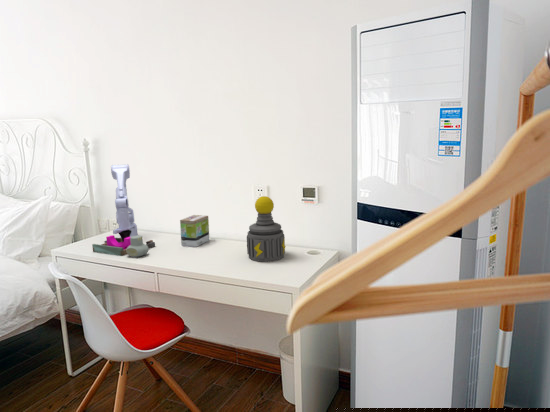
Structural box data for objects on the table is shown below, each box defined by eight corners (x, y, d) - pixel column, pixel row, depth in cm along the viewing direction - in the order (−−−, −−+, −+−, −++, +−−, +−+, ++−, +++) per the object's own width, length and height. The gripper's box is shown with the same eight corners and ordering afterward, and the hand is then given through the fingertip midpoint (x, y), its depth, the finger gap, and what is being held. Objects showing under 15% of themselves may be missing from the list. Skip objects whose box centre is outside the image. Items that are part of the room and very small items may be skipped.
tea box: (197, 247, 231) (195, 220, 228) (181, 246, 234) (179, 219, 231) (210, 240, 245) (208, 214, 242) (194, 239, 248) (192, 214, 245)
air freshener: (124, 257, 218) (122, 238, 216) (134, 252, 225) (132, 234, 224) (141, 258, 214) (139, 239, 212) (151, 254, 221) (150, 235, 220)
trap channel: (120, 240, 251) (119, 233, 250) (158, 245, 238) (158, 238, 237) (87, 250, 231) (87, 243, 230) (127, 256, 218) (127, 249, 217)
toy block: (137, 249, 232) (136, 235, 230) (129, 252, 226) (128, 238, 225) (116, 247, 238) (114, 234, 236) (107, 250, 232) (106, 236, 231)
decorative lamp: (277, 263, 199) (275, 200, 193) (240, 260, 205) (237, 199, 200) (290, 252, 216) (288, 193, 210) (256, 249, 222) (253, 192, 217)
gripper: (118, 223, 225) (121, 247, 228) (138, 217, 238) (141, 241, 240) (109, 222, 228) (111, 246, 231) (129, 216, 241) (131, 239, 243)
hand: (126, 243), depth 236 cm, fingers closed
